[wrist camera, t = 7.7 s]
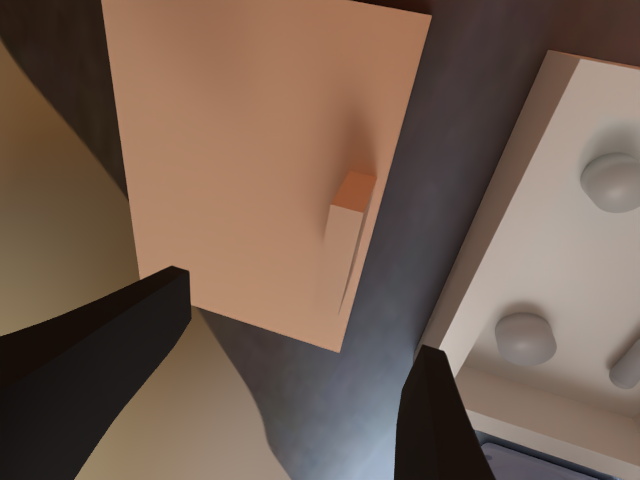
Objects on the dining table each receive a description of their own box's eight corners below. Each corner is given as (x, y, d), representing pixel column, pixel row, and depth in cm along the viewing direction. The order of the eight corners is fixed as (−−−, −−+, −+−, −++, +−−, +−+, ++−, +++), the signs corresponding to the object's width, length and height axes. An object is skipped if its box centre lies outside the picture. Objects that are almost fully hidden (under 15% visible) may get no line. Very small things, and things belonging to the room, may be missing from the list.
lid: (343, 337, 23) (323, 404, 19) (154, 276, 25) (99, 326, 21) (432, 15, 14) (430, 14, 10) (118, -43, 15) (6, -64, 11)
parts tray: (636, 425, 20) (670, 495, 17) (413, 355, 21) (409, 407, 19) (963, 128, 11) (1148, 167, 8) (548, 49, 13) (580, 58, 10)
